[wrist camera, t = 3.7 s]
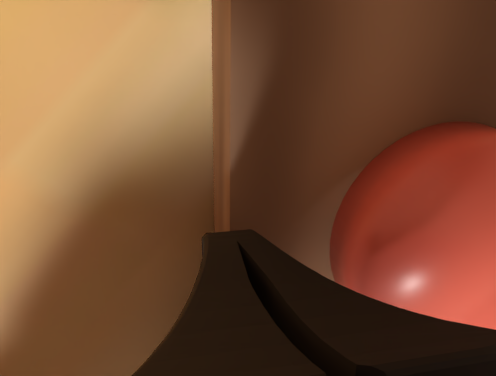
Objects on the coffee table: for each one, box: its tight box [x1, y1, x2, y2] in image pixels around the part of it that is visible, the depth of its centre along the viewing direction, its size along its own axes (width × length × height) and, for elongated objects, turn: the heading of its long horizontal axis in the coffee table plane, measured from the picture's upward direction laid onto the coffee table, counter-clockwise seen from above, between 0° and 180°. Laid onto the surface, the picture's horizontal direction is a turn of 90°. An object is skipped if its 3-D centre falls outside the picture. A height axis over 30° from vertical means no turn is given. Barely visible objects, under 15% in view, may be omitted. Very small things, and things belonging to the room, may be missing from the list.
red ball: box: [329, 121, 496, 330], centre depth 13 cm, size 7×7×2 cm
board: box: [212, 0, 496, 282], centre depth 15 cm, size 14×16×3 cm
